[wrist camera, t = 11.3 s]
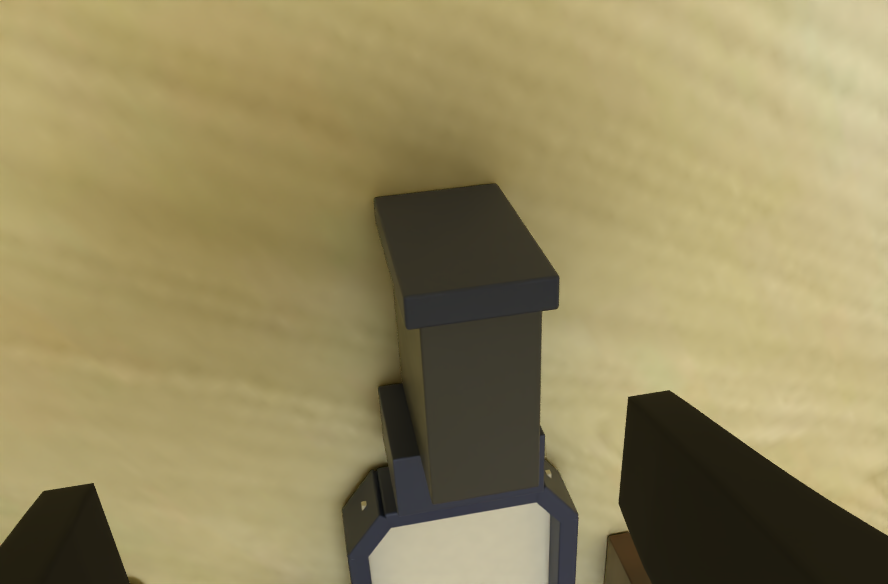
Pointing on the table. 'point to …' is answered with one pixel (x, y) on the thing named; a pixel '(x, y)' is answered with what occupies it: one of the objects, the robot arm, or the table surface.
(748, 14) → the table surface
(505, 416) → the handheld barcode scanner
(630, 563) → the frame
